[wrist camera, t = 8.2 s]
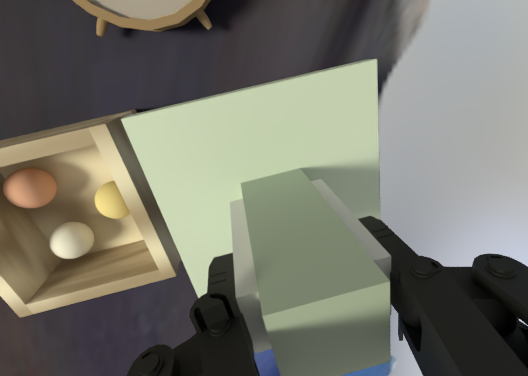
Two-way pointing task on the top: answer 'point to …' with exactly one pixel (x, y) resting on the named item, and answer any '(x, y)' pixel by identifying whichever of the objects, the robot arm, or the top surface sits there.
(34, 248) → the box
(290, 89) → the lid
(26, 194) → the ball terracotta
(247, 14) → the top surface
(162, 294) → the top surface
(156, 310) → the top surface
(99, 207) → the ball mustard
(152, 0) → the alarm clock
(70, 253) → the ball cream
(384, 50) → the top surface
